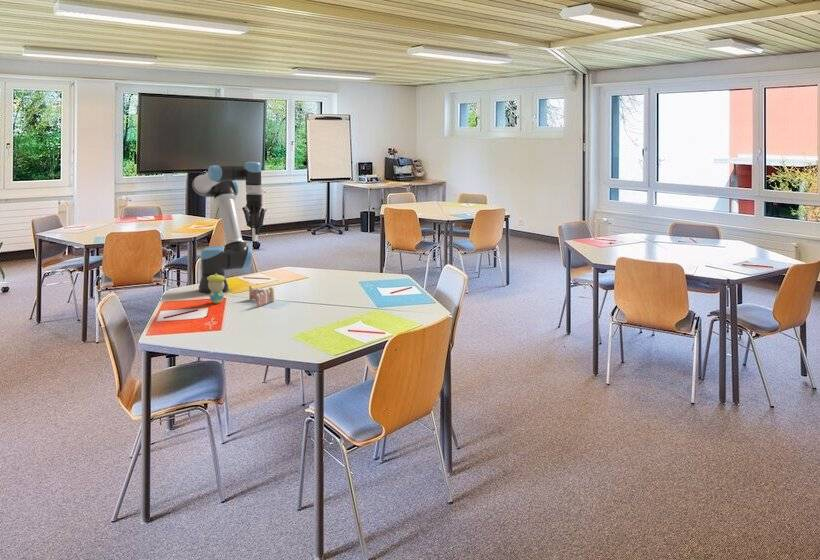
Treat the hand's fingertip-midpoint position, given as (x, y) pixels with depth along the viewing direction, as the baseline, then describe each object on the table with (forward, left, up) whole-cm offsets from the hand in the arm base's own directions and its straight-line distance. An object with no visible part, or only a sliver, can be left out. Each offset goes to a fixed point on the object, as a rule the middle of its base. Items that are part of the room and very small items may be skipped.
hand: (255, 240), depth 333 cm
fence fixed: (+6, -5, -29) cm, 30 cm away
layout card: (+12, -9, -29) cm, 33 cm away
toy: (-11, -18, -30) cm, 36 cm away
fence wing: (+12, -12, -29) cm, 33 cm away
